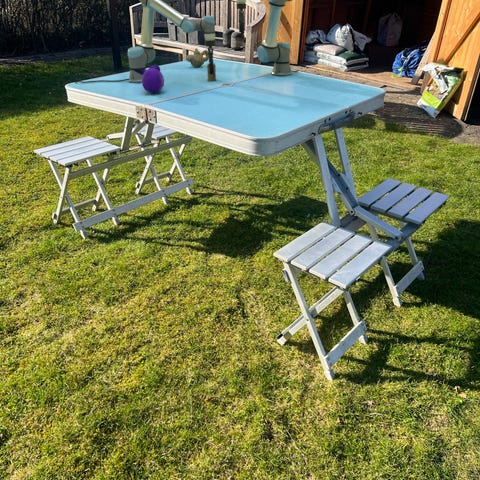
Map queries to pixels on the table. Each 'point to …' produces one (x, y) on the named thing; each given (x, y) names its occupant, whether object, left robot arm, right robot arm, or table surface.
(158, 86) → the toy
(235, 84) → the table surface
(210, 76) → the block
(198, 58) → the tan lumpy piece
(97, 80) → the left robot arm
